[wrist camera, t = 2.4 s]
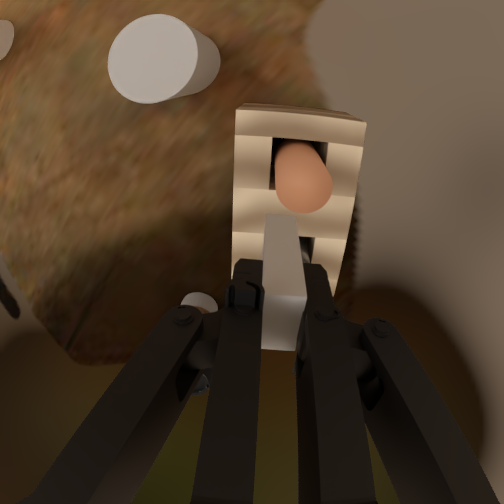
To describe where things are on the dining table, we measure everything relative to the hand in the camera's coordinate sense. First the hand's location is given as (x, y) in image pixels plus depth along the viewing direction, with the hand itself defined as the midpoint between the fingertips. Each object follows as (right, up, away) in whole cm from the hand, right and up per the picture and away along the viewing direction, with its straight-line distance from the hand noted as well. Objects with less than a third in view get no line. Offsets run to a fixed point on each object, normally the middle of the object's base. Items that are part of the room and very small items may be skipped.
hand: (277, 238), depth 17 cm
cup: (-9, +21, +15) cm, 28 cm away
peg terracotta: (+3, +9, +15) cm, 17 cm away
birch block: (+3, +8, +22) cm, 24 cm away
